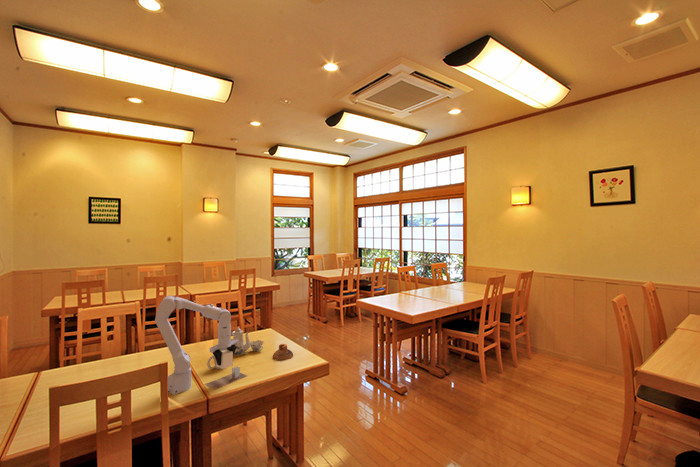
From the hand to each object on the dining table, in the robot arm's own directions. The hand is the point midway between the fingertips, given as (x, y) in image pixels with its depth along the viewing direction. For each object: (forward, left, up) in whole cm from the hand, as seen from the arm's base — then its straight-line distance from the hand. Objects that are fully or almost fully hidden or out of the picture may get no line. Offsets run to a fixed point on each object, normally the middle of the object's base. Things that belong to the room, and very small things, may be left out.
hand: (224, 363), depth 156 cm
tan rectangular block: (0, 0, -1) cm, 1 cm away
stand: (+1, 0, -10) cm, 10 cm away
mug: (+7, +17, -10) cm, 21 cm away
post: (+5, -2, -10) cm, 11 cm away
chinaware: (+31, +31, -10) cm, 45 cm away
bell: (+40, +3, -10) cm, 42 cm away
